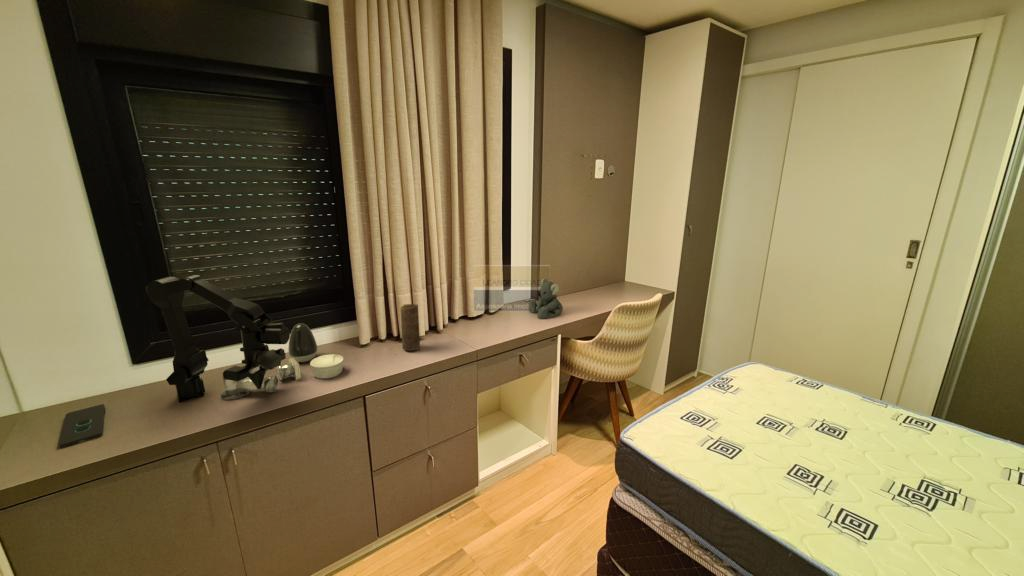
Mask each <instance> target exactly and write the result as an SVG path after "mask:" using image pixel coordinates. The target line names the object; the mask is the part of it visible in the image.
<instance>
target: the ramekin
mask: <svg viewBox="0 0 1024 576" xmlns="http://www.w3.org/2000/svg"><path fill="white" fill-rule="evenodd" d="M344 361H345V359H344V356H342V355H339V354H333V353H332V354H331V353H330V354H324V355H320V356H317V357H314V358H313V359H311V360H310V361H309V365H310V368H311V370H312V373H313V376H314V377H315V378H318V379H320V380H321V379H322V380H324V379H332V378H334V377H337V376H339V375H340V374H341V373H342V371H343V367H344Z"/></svg>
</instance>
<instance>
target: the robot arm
mask: <svg viewBox="0 0 1024 576" xmlns="http://www.w3.org/2000/svg"><path fill="white" fill-rule="evenodd" d="M145 288H146V289H145V290H146V293H147V295H148V297H149V299H150V301H151V302H152V303H153V304H154V305H155V306H157V307H158V308H160V309H161V312H162V316H163V318H164V322H165V324H166V328H167V330H168V333H169V337H170V339H171V343H172V346H173V349H174V356H173V359H172V368H173V371H172V372H171V373H170V375H169V376H168V377H166V381H167V383H168V385H169V386H175V389H176V390H175V391H176V393H177V394H176V397H177V401H178V403H183V402H187V401H191V400H194V399H198V398H201V397H204V396H205V392H206V388H205V384H204V380H203V378H202V377H201V376H200V375H202V374H204V373H205V370H206V368H207V366H208V362H209V361H210V360H209V358H208V356H207V352H206V350H205V349H202V350H200V349H199V348H198V347H196V345H195V343H194V339H193V336H192V332H191V329H190V327H189V324H188V321H187V316H186V314H185V310H184V307H183V302H184V298H185V291H189V292H191V293H192V294H194V295H196V296H197V297H200V298H202V299H204V300H205V301H206V302H209V303H210V304H212V305H214V306H216V307H218V308H219V309H221V310H222V311H225V313H226V314H227V315H228V317H229V318H230V320H232V321H233V322H235V323H236V324H237V325H236V326H235V327H234V328H233V329H232V330H233V332H240V335H241V342H242V343H241V344H242V346H241V347H240V348H239V351H240V352H242V353H243V357H244V359H241V364H244V365H243V366H239V365H234V366H231V367H229V368H227V369H225V370H224V371H223V372H222V380H223V379H225V380H233V381H241V380H243V379H245V378H250V380H251V381H252V382H253V383H254V384H255V386H256V387H257V389H261V386H262V382H263V379H264V378H265V375H266V372H267V371H268V370H269V371H272V370H274V369H275V368H277V366H280V365H282V364H281V363H282V361H283V360H285V359H287V358H286V357H287V356H286V353H285V349H283V348H282V347H280V348H278V349H270V348H269V347H270V346H269V345H286V344H288V343H289V339H290V334H291V332H290V330H289V328H288V326H286V325H285V323H284V322H276V323H275V322H274V321H273V319H272V318H271V317H270V316H269V314H267V313H266V311H264V310H263V309H264V308H263V307H262V306H261V305H260V304H258V303H256V302H253V301H250V300H247V299H242V298H238V297H235V296H233V295H232V294H230V293H229V292H227V291H225V290H223V289H221V288H220V287H218V286H216V285H214V284H212V283H211V282H210V281H208V280H206V279H204V278H203V277H202V276H201V275H199V274H193V275H190V276H183V277H178V278H177V277H175V276H167V277H162V278H160V279H156V280H152V281H150V282H148V284H147V285H146V287H145ZM259 320H260V321H259ZM258 321H259V322H258Z"/></svg>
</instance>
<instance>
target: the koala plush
mask: <svg viewBox="0 0 1024 576" xmlns="http://www.w3.org/2000/svg"><path fill="white" fill-rule="evenodd" d="M540 283H541V286H540V288H539V290H538V292H537V296H538V297H539V298H540V300H539V302H538V303H537V301H536V300H534V299H530V301H529V304H528V311H529V312H530V313H532V314H537V318H538V319H540V320H541V319H543V320H544V319H545V320H547V319H550V318H555V317H558V316H559V315H560V314H561V313H562V312H563V310H564V309H563V307H564V305H562V303H561V302H560V300H558V296H557V295H558V294H560V288H559V284H557V283H554V282H553V281H549V280H547V279H546V278H544V277H543V279H541V282H540Z"/></svg>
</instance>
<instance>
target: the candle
mask: <svg viewBox="0 0 1024 576" xmlns="http://www.w3.org/2000/svg"><path fill="white" fill-rule="evenodd" d="M418 307H419V305H418V304H417V303H406V304H402V306H401V307H400V324H401V325H400V327H401V343H402V350H405V351H417V350H419V349H421V343H420V342H421V340H420V339H421V338H420V323H419V321H420V320H419V308H418Z"/></svg>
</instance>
